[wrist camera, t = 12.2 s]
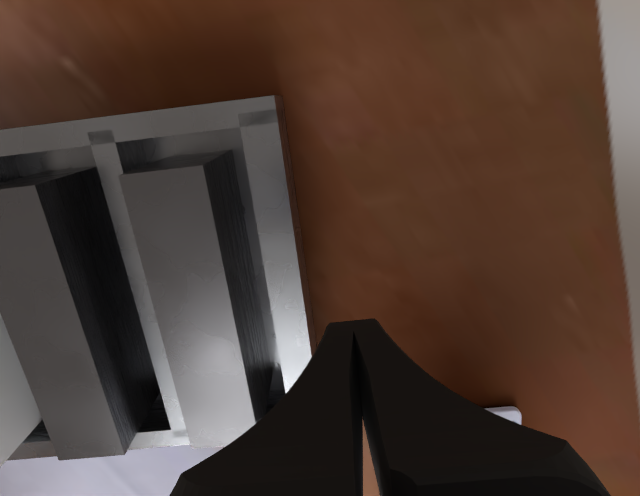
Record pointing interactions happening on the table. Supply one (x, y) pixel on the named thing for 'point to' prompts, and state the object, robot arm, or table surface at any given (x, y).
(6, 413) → the white rectangular block
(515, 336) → the table surface
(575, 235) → the table surface
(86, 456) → the rack
